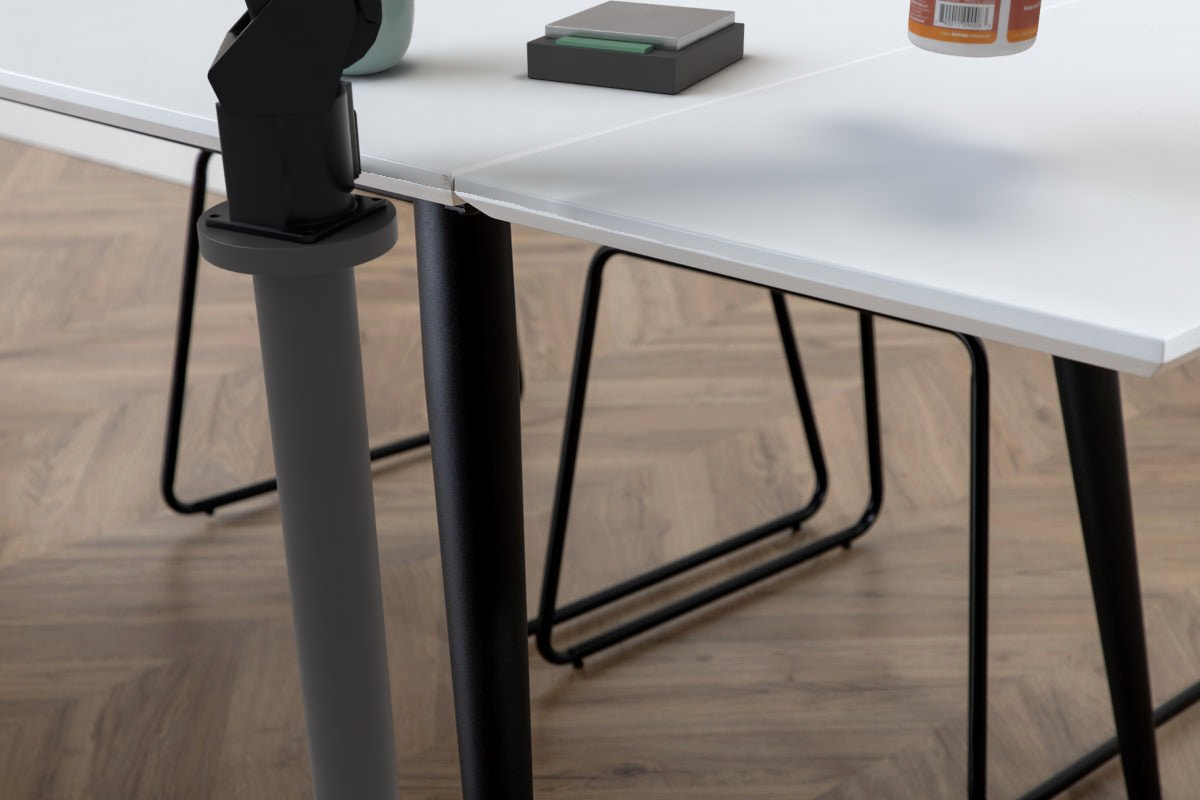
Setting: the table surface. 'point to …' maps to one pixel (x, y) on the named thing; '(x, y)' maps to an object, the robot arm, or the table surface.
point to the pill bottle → (974, 26)
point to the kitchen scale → (637, 46)
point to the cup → (388, 39)
